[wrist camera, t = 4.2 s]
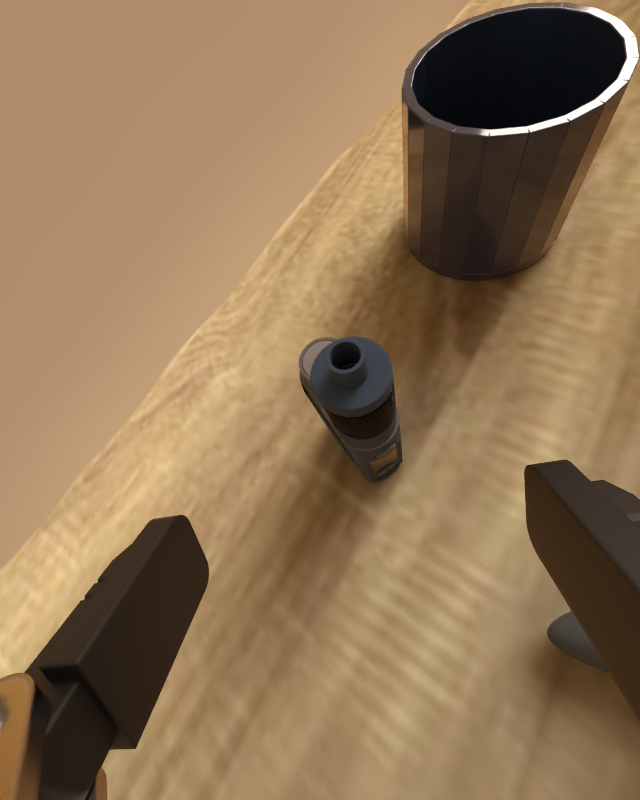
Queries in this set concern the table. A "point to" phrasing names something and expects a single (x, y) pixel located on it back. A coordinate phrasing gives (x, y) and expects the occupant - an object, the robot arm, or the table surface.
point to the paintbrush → (574, 640)
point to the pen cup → (506, 132)
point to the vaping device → (355, 400)
